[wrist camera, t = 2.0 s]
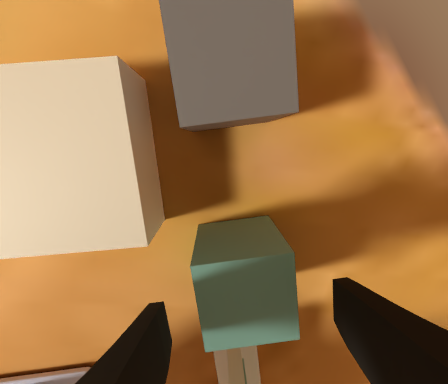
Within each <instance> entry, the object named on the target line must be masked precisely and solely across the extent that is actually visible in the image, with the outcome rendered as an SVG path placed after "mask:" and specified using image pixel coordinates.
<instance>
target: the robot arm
mask: <svg viewBox="0 0 448 384" xmlns="http://www.w3.org/2000/svg"><path fill="white" fill-rule="evenodd" d="M333 311H334V322H335V324H336V326H337V328H338V330H339V332H340V334H341V336H342V338H343V340H344V342H345V344H346V346H347V347H348V349H349V350H350V352H351V354H352V355H353V357H354V358H355V360H356V361H357V363H358V365H359V366H360V368H361V369H362V371H363V372H364V374H365V375H366V377H367V378H368V380H369V381H370V383H371V384H448V330H446V329H444V328H441V327H439V326H437V325H435V324H433V323H431V322H429V321H427V320H425V319H423V318H421V317H419V316H417V315H415V314H413V313H411V312H410V311H408V310H406V309H404V308H402V307H400V306H398V305H396V304H395V303H393V302H391V301H389V300H387V299H386V298H384V297H382V296H380V295H378V294H377V293H375V292H373V291H371V290H370V289H368V288H366V287H364V286H362V285H361V284H359V283H357V282H355V281H353V280H351V279H349V278H347V277H346V278H339V279H333ZM171 347H172V338H171V334H170V329H169V324H168V320H167V315H166V310H165V306H164V301H163V302H156V303H149V304H148V305H147V306H146V308H145V309H144V310H143V311H142V312H141V313H140V315H139V316H138V317H137V318H136V319H135V320H134V322H133V323H132V324H131V325H130V326H129V327H128V328H127V330H126V331H125V332H124V333H123V334H122V335H121V336H120V338H119V339H118V340H117V341H116V342H115V343H114V344H113V345H112V346H111V347H110V348H109V350H108V351H107V352H106V353H105V354H104V355H103V356H102V357H101V358H100V359H99V360H98V361H97V362H96V363H95V364H94V365H93V366H92V367H82V368H75V369H67V370H60V371H53V372H45V373H38V374H30V375H23V376H16V377H8V378H1V379H0V384H165V383H166V378H167V374H168V370H169V363H170V356H171Z"/></svg>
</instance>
